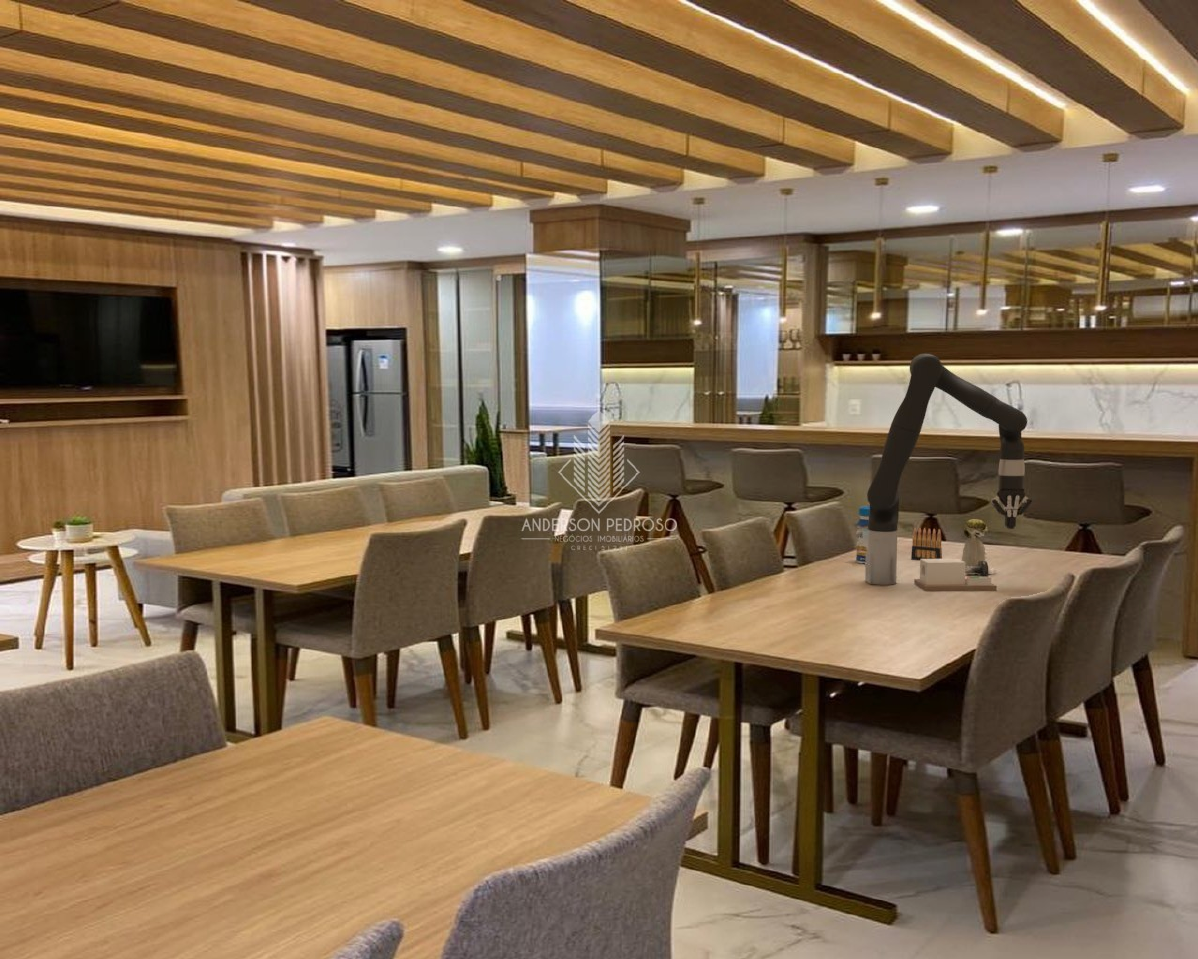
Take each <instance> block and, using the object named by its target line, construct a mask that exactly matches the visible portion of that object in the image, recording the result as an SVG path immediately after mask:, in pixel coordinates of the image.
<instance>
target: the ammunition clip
mask: <svg viewBox="0 0 1198 959" xmlns="http://www.w3.org/2000/svg"><path fill="white" fill-rule="evenodd" d="M926 529H927V528H926V527H923V530H922V529H921V527H918V531H917V527H916V526H914V528H913V534H912V542H911V554H910V557H911V558H910V560H912V561H920V559H943V554H942V552H943V551H942V549H943V548H942V531H941V529H940V528H938V529H937V531H936V529H935V528H933V530H931V528H928V530H926ZM931 531H932V532H931ZM936 532H937V534H936Z"/></svg>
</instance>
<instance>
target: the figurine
mask: <svg viewBox="0 0 1198 959" xmlns="http://www.w3.org/2000/svg"><path fill="white" fill-rule="evenodd" d="M988 531H989V528H988V525H987V523H986V522H984V520H982V519H977V518H971V519H969V520H967V521H966V523H965V525H964V526H963V535H964V536H965V537H966V540H965V543H964V546H963V547H962V548H963V549H962V554H961V560H962V561H964V562H965V566H978V562H979V561H986V559H987V552H986V548H985V546H984V542H983V540H982V539H981V537H985V536H986V535H987V534H988V533H987V532H988ZM994 567H995V566H994V565H992V567H990V568H989V567H988V573H990V575H995V574H996V571H997V570H996V569H995V568H994ZM965 576H968V574H965Z"/></svg>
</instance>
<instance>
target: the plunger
mask: <svg viewBox="0 0 1198 959" xmlns="http://www.w3.org/2000/svg"><path fill="white" fill-rule="evenodd" d="M988 568H989V564H988V562H987V561H986V560H985V561H979V562H978V566H965V574H967V575H975V574H977V576H979V577H989V576H991V574H990V573H988Z"/></svg>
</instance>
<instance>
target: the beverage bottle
mask: <svg viewBox="0 0 1198 959" xmlns="http://www.w3.org/2000/svg"><path fill="white" fill-rule="evenodd" d="M869 513H870V505H869V506H866V505H865V506H859V507H858V516H859V519H858V521H857V524H856V528H857V530H856V533H855V535H856V557H855V559H856V563H859V564H862V563H866V552H867V551H868V520H869Z"/></svg>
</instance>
